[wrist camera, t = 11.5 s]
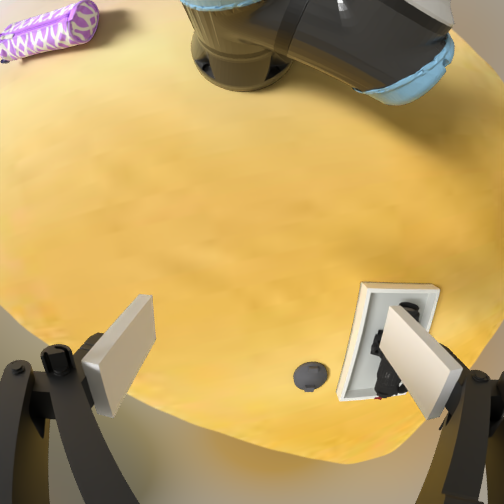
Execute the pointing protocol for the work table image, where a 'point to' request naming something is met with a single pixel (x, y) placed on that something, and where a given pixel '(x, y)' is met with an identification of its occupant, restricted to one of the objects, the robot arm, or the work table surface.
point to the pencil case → (50, 31)
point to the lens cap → (310, 376)
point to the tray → (367, 325)
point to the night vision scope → (386, 374)
